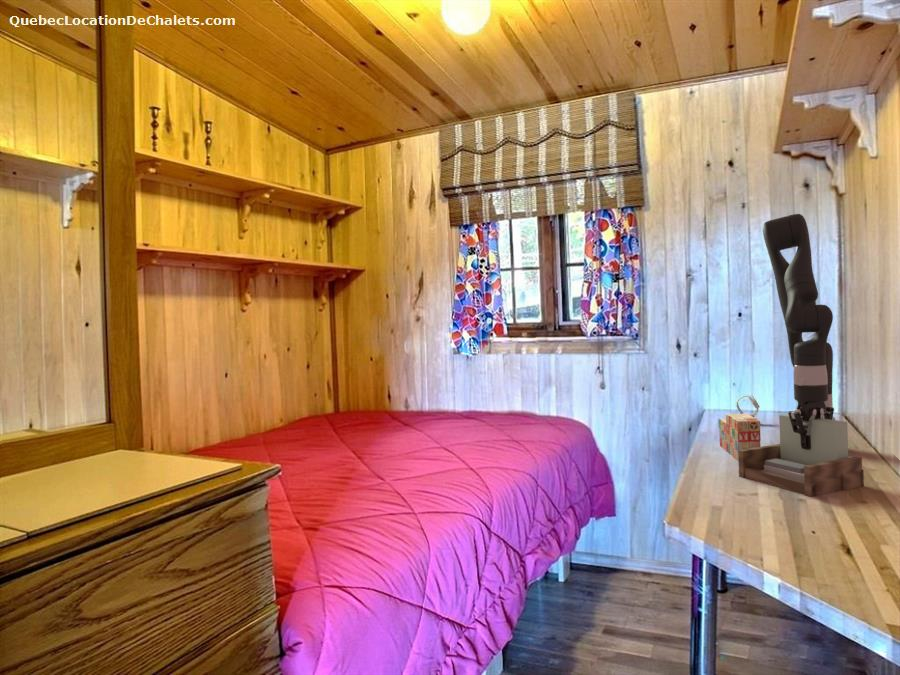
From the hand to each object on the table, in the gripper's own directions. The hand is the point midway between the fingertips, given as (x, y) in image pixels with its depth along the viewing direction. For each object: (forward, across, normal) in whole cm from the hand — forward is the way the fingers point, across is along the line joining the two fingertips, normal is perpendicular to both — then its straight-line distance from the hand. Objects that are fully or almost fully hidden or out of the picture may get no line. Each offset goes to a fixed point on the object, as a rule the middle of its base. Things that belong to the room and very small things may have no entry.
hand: (812, 447), depth 155 cm
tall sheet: (+6, 0, 0) cm, 6 cm away
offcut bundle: (+8, +8, 0) cm, 11 cm away
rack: (+8, +5, 0) cm, 9 cm away
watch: (+9, -45, -62) cm, 77 cm away
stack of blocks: (+8, -6, -30) cm, 31 cm away
